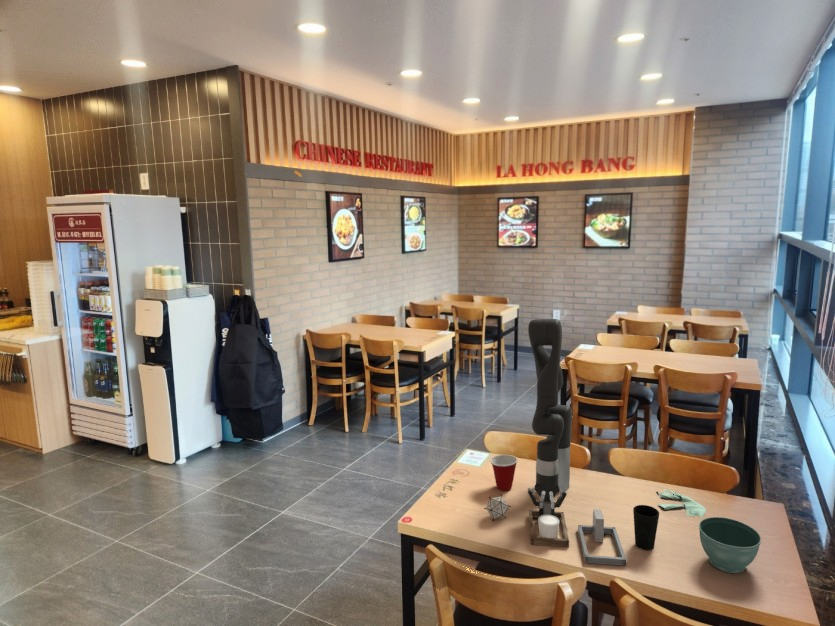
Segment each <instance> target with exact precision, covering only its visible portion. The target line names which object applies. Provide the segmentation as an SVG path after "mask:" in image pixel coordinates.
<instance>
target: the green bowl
mask: <svg viewBox="0 0 835 626" xmlns="http://www.w3.org/2000/svg"><path fill="white" fill-rule="evenodd" d="M698 529H699V539H700V543H701V546H702V549H703V550H704V552H705V554H706V556H707V557H708V559H709V560H708V561H709V563H710V564H711V565H712V566H713V567H715V568H716V569H718V570H720V571H722V572H726V573H730V574H741V573H743V572H744V571H745V569H746V568H747V567H748V566H749V565H750V564H752V563H753V562H754V560H755V559H756V557H757V555H758V552H759V549H760V545H761V542H762V537H761V535H760V533H759V532H758V531H757V530H756V529H755V528H754V527H752V526H750V525H748V524H746V523H744V522H741V521H739V520H736V519H734V518H728V517H724V516H723V517H722V516H711V517H706V518H703V519H702V520H700V521H699V524H698Z"/></svg>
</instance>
